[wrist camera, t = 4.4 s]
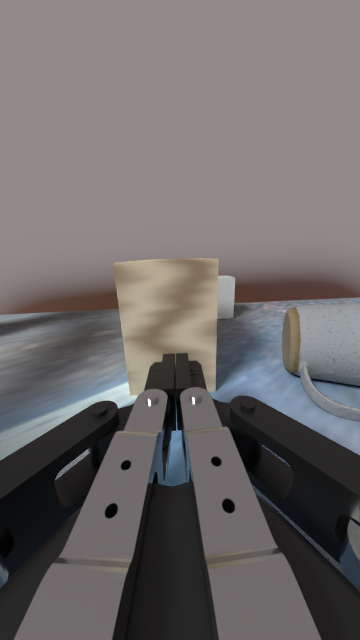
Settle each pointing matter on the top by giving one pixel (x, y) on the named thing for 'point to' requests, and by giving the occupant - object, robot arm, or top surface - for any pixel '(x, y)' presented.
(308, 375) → the ceramic mug
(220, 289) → the white rectangular block
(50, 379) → the top surface
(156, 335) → the maple block
